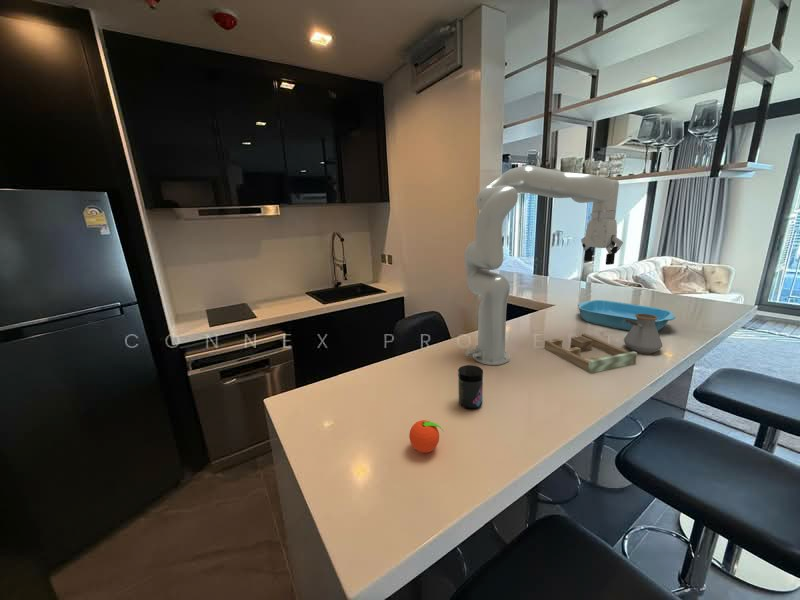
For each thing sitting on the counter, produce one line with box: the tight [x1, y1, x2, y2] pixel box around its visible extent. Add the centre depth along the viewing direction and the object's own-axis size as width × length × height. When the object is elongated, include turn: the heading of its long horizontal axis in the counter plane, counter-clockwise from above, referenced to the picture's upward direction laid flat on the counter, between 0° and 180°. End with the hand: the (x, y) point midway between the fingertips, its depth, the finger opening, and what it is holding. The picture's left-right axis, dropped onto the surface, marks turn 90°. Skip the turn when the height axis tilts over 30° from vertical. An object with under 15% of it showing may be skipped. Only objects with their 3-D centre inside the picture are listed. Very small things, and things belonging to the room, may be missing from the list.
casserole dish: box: [577, 299, 676, 332], centre depth 148 cm, size 37×22×7 cm, turn 39°
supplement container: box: [457, 364, 484, 411], centre depth 92 cm, size 7×7×10 cm
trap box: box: [544, 333, 638, 374], centre depth 119 cm, size 19×22×4 cm
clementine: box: [408, 419, 444, 454], centre depth 76 cm, size 8×7×7 cm
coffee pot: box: [622, 314, 663, 354], centre depth 117 cm, size 21×12×15 cm, turn 122°
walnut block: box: [570, 335, 593, 353], centre depth 124 cm, size 5×5×4 cm
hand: (598, 262), depth 125 cm, fingers open, 9 cm apart
